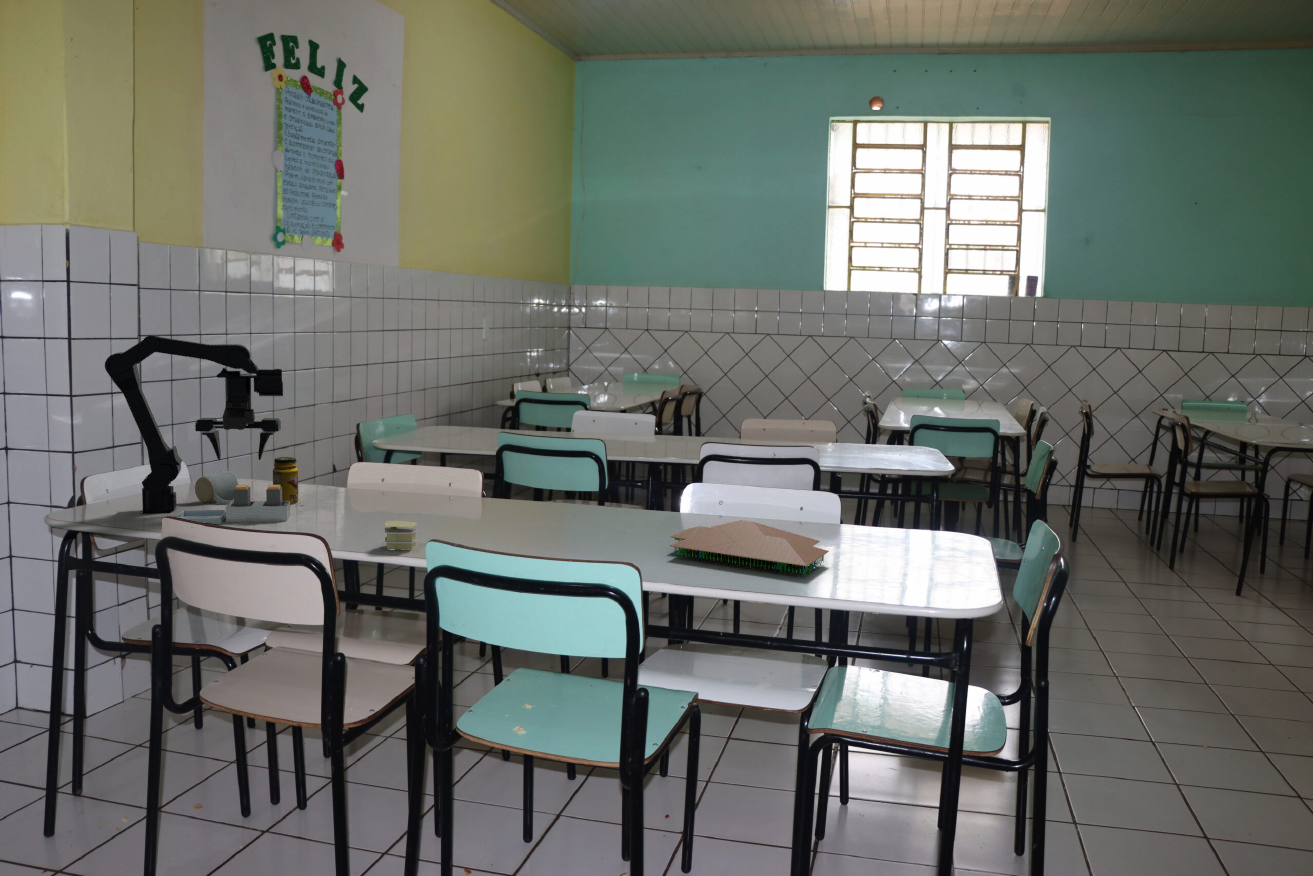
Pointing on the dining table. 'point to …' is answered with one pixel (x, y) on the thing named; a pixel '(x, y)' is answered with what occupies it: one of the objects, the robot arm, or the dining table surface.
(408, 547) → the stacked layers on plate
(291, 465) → the condiment
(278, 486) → the twin plug
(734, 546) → the house
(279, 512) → the grey socket block
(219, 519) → the tray
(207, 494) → the ceramic mug
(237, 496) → the plug
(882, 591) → the dining table surface
